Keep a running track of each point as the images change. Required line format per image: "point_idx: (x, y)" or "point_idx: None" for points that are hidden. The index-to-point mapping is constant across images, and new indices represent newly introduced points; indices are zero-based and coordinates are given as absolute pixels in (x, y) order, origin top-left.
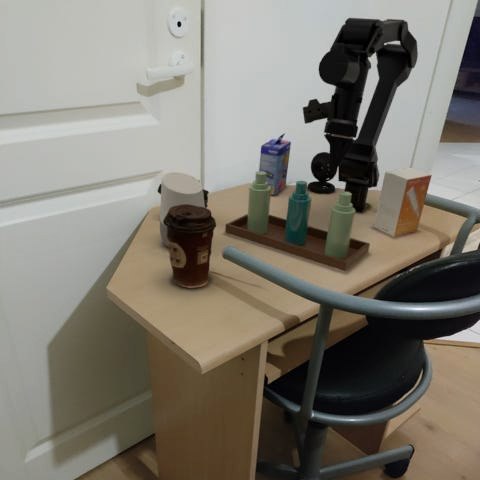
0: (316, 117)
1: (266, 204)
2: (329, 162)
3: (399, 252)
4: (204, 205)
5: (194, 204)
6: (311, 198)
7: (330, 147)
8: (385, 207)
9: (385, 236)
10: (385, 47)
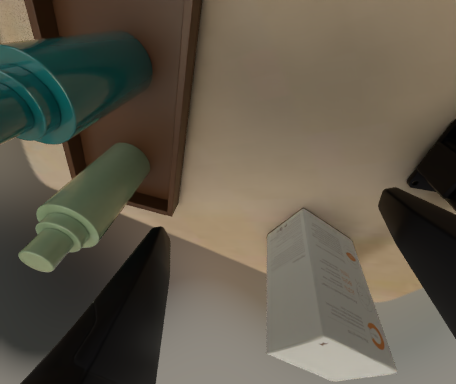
0: None
1: None
2: (124, 264)
3: (211, 238)
4: None
5: None
6: (58, 143)
7: (42, 366)
8: (291, 258)
9: (268, 224)
10: None
